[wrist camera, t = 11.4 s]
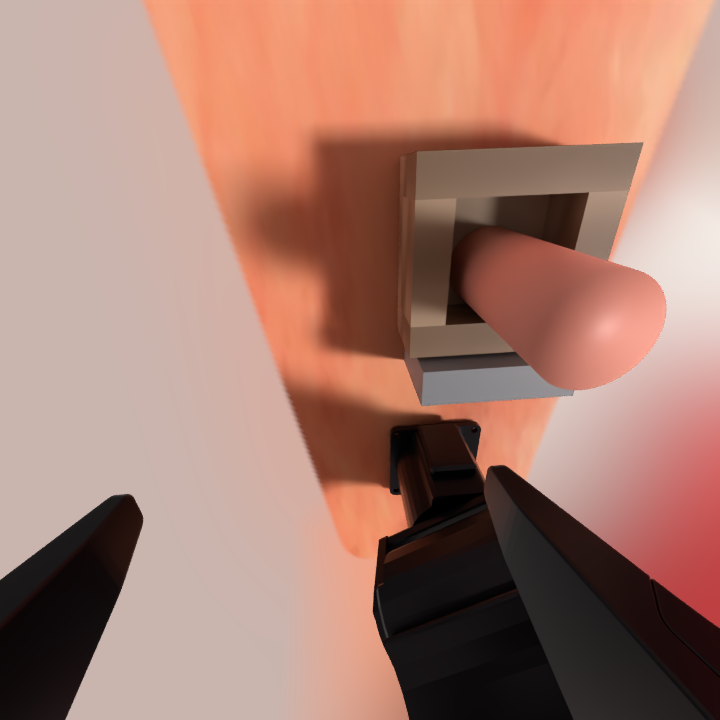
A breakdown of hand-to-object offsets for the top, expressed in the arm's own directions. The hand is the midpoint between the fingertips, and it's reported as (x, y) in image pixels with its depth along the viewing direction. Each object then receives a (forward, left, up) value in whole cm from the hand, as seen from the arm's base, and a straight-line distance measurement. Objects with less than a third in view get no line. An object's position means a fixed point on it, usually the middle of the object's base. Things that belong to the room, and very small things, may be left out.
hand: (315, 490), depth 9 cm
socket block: (+3, -9, -13) cm, 16 cm away
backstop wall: (-3, -9, -13) cm, 16 cm away
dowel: (+2, -9, -12) cm, 15 cm away
